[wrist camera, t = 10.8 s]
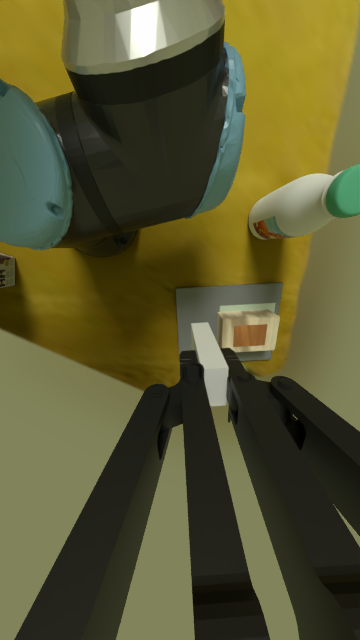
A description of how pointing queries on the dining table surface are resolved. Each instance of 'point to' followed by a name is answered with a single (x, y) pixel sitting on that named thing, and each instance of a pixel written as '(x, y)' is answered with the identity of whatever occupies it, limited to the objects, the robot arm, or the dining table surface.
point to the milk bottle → (306, 205)
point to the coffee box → (7, 270)
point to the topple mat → (223, 309)
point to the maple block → (247, 330)
